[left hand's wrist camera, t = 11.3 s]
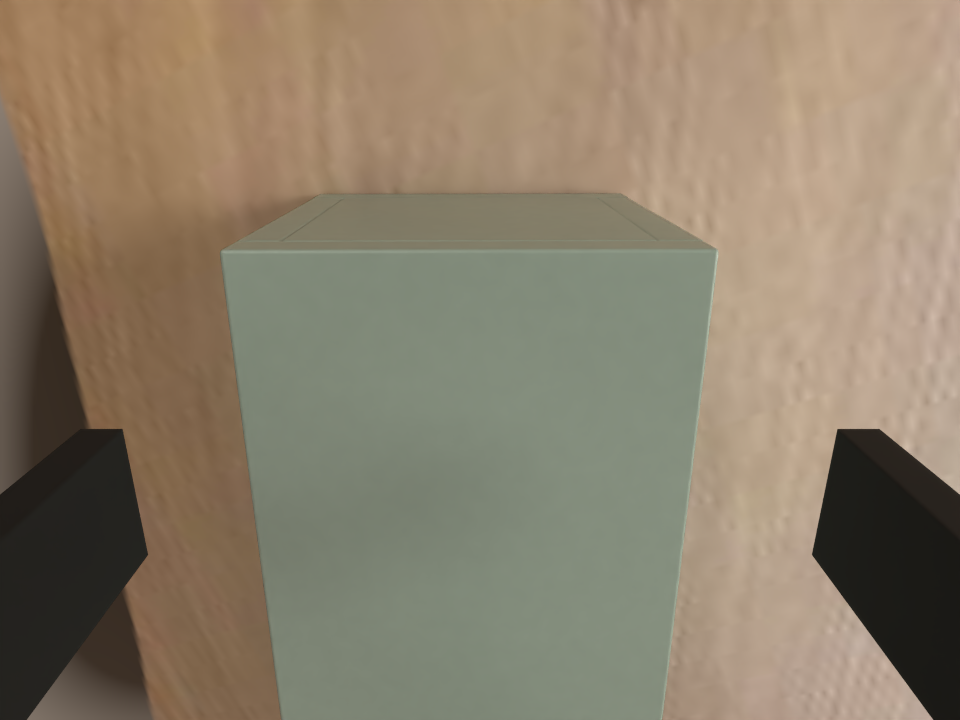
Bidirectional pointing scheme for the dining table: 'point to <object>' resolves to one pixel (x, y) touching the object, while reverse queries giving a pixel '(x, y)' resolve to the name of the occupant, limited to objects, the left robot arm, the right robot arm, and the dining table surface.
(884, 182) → the dining table surface
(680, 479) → the cabinet
